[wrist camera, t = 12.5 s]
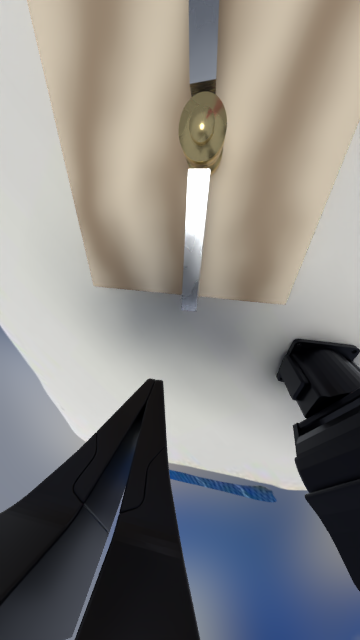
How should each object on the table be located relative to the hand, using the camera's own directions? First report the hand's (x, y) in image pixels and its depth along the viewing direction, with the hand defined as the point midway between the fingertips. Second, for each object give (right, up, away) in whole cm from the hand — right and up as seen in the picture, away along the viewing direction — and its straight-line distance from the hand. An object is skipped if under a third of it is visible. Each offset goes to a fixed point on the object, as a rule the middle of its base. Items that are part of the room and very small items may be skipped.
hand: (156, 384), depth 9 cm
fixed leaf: (+3, +11, +5) cm, 13 cm away
